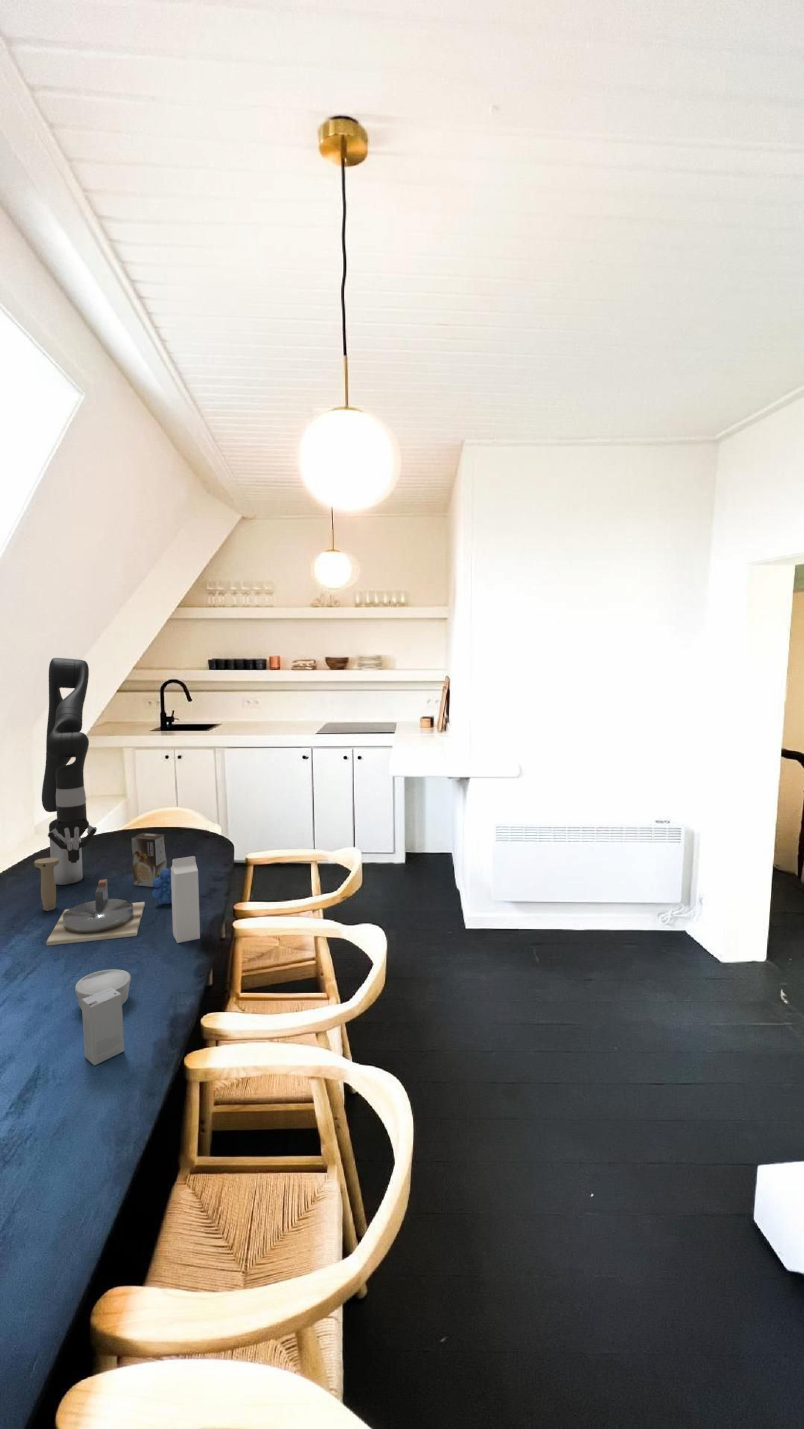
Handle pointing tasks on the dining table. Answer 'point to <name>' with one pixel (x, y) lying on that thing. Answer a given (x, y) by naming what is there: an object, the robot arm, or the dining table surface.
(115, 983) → the ramekin
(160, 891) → the grapes
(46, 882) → the handle
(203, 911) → the dining table surface
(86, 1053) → the skincare box
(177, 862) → the milk
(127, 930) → the base plate
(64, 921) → the dial
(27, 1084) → the dining table surface
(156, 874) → the coffee box
